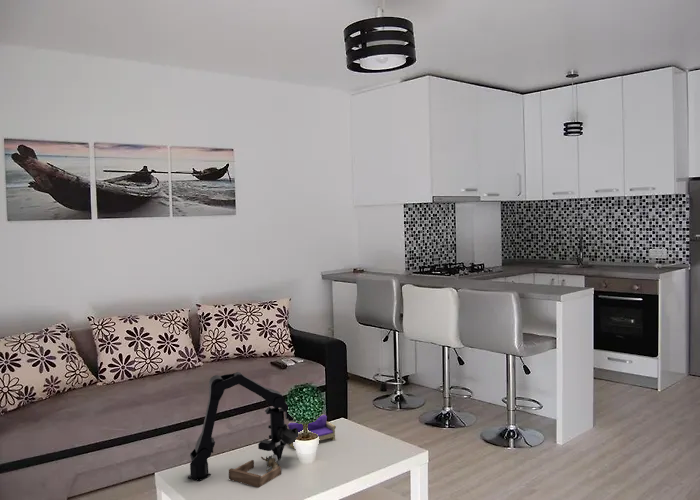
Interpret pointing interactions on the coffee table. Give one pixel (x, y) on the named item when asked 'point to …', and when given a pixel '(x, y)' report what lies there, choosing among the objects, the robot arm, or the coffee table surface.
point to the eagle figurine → (271, 461)
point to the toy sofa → (317, 428)
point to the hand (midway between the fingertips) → (278, 459)
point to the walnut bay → (252, 475)
